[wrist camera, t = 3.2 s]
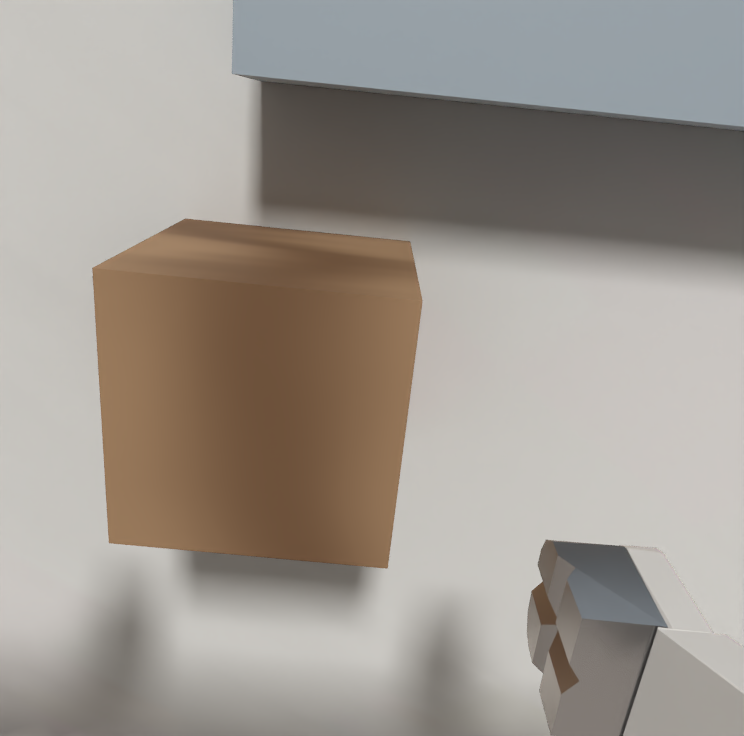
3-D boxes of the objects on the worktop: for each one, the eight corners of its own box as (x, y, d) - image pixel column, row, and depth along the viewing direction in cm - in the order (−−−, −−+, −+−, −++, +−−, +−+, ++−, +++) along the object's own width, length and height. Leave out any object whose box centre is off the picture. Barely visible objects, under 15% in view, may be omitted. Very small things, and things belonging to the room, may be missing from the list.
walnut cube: (187, 419, 18) (108, 543, 13) (186, 218, 16) (92, 268, 11) (386, 439, 18) (387, 568, 13) (410, 241, 16) (422, 300, 11)
